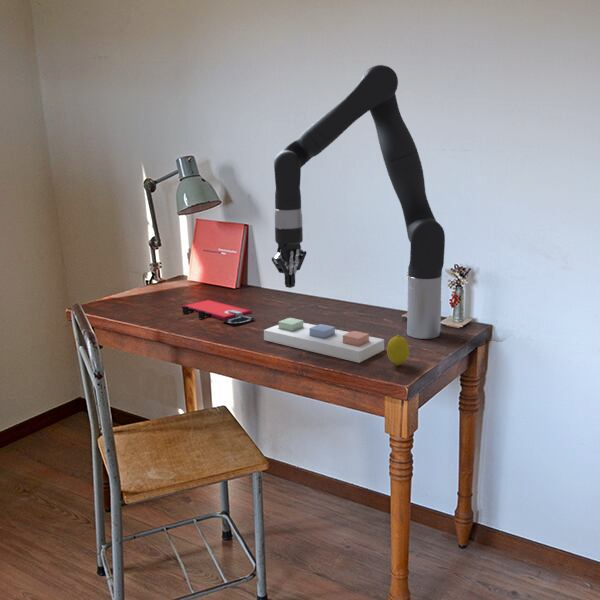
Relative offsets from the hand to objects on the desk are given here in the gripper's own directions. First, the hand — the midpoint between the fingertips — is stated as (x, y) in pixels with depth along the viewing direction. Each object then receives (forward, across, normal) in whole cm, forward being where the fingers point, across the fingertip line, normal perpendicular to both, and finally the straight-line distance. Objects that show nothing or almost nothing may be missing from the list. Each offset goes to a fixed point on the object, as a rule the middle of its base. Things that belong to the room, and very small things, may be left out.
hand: (290, 286), depth 198 cm
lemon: (+15, +2, +36) cm, 39 cm away
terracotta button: (+12, 0, +22) cm, 25 cm away
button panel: (+15, 0, +11) cm, 19 cm away
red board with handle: (+16, -6, -35) cm, 39 cm away
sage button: (+12, 0, 0) cm, 12 cm away
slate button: (+12, 0, +11) cm, 17 cm away
